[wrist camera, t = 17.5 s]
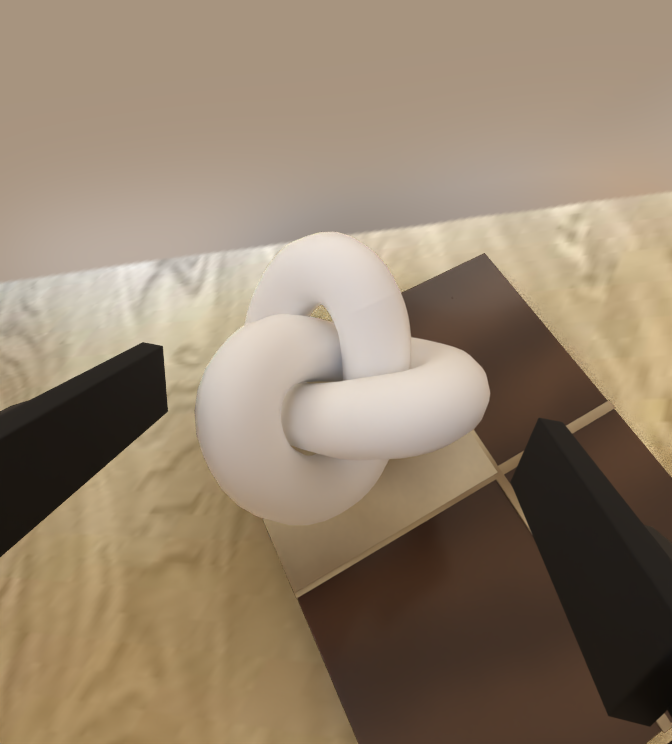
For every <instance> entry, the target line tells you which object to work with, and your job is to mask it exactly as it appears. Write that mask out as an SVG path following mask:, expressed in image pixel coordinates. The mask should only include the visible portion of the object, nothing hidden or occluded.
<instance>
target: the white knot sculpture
mask: <svg viewBox="0 0 672 744" xmlns="http://www.w3.org/2000/svg"><path fill="white" fill-rule="evenodd" d="M319 305H323V306H324V307H325V308H326V309H327V311H328V312H329V314H330V316H331V318H332V320H333V322H331V321H328V320H324V319H320V318H316V317H310V315H311V314H312V312H313V311H314V310H315V309H316V308H317V307H318V306H319ZM316 381H322V382H328V383H307V382H316ZM489 398H490V389H489V385H488V380H487V376H486V373H485V371H484V370H483V368H482V367H481V366H480V365H479V364H478V363H477V362H476V361H475V360H474V359H473V358H472V357H471V356H470V355H469V354H467V353H466V352H464V351H463V350H461V349H458V348H455V347H453V346H449V345H445V344H442V343H437V342H433V341H428V340H424V339H419V338H413V337H411V332H410V323H409V318H408V313H407V309H406V305H405V302H404V299H403V297H402V294H401V291H400V289H399V287H398V285H397V283H396V281H395V279H394V276H393V275H392V273H391V272H390V270H389V268H388V267H387V265H386V264H385V263H384V261H383V260H382V259H381V258H380V257H379V256H378V255H377V254H376V253H375V252H374V251H373V250H372V249H370V248H369V247H368V246H366V245H364V244H363V243H361V242H360V241H358V240H357V239H355V238H354V237H351V236H348V235H345V234H342V233H338V232H318V233H315V234H312V235H309V236H306V237H303V238H300V239H298V240H295V241H293V242H291V243H289V244H288V245H287V246H286V247H284V248H283V249H282V250H281V251H279V252H278V253H277V254H276V256H275V257H274V258H273V259H272V261H271V262H270V263H269V265H268V266H267V267H266V269H265V271H264V273H263V275H262V277H261V279H260V281H259V282H258V284H257V286H256V288H255V290H254V292H253V295H252V298H251V301H250V304H249V307H248V311H247V315H246V320H245V325H244V326H243V327H241V328H239V329H238V330H237V331H235V332H234V333H233V334H232V335H230V336H229V337H228V339H227V340H226V341H225V342H224V343H223V345H222V346H221V347H220V348H219V349H218V350H217V352H216V353H215V354H214V356H213V357H212V359H211V360H210V362H209V363H208V365H207V367H206V368H205V370H204V373H203V376H202V378H201V381H200V384H199V387H198V391H197V398H196V405H195V421H196V434H197V438H198V441H199V444H200V447H201V450H202V454H203V457H204V459H205V461H206V464H207V466H208V468H209V470H210V471H211V473H212V475H213V476H214V478H215V479H216V481H217V483H218V484H219V486H220V488H221V489H222V490H223V491H224V492H225V493H226V494H227V495H228V496H229V497H230V498H231V499H232V500H233V501H234V502H235V503H236V504H237V505H238V506H239V507H241V508H243V509H245V510H246V511H248V512H250V513H252V514H253V515H255V516H257V517H260V518H264V519H268V520H272V521H275V522H279V523H283V524H287V525H311V524H316V523H320V522H324V521H326V520H328V519H331V518H333V517H335V516H337V515H339V514H341V513H342V512H344V511H346V510H347V509H349V508H350V507H352V506H353V505H354V504H356V503H357V502H359V501H360V500H361V499H362V498H363V497H364V496H365V495H366V494H367V493H368V492H369V491H370V490H371V488H372V487H373V486H374V485H375V483H376V482H377V480H378V479H379V477H380V476H381V474H382V472H383V470H384V468H385V466H386V465H387V463H388V461H389V459H401V458H408V457H414V456H419V455H423V454H427V453H431V452H434V451H436V450H439V449H441V448H444V447H446V446H448V445H450V444H451V443H453V442H455V441H456V440H458V439H459V438H461V437H463V436H464V435H466V434H467V433H469V432H470V431H472V430H473V429H475V427H476V426H477V425H478V424H479V422H480V421H481V420H482V418H483V415H484V413H485V410H486V408H487V405H488V403H489ZM290 445H292V446H294V447H297V448H300V449H303V450H306V451H310V452H314V453H317V454H315V455H311V456H307V455H304V454H302V453H300V452H298V451H296V450H295V449H294V448H292V447H291V446H290Z"/></svg>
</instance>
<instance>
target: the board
mask: <svg viewBox="0 0 672 744" xmlns="http://www.w3.org/2000/svg"><path fill="white" fill-rule="evenodd" d="M401 294H402V297H403V299H404V302H405V305H406V309H407V313H408V318H409V323H410V332H411V337H413V338H419V339H424V340H428V341H433V342H437V343H442V344H445V345H449V346H453V347H455V348H458V349H461V350H463V351H464V352H466V353H467V354H469V355H470V356H471V357H472V358H473V359H474V360H475V361H476V362H477V363H478V364H479V365H480V366H481V367H482V368H483V370H484V371H485V373H486V376H487V380H488V385H489V389H490V398H489V403H488V405H487V408H486V410H485V413H484V415H483V418H482V420H481V421H480V422H479V424H478V425H477V426H476V427H475V429H473V430H472V431H470V432H469V433H467V434H466V435H464V436H463V437H461V438H459V439H458V440H456V441H455V442H453V443H451V444H450V445H448V446H446V447H444V448H441V449H439V450H436V451H434V452H431V453H427V454H423V455H419V456H414V457H408V458H401V459H389V461H388V463H387V465H386V466H385V468H384V470H383V472H382V474H381V476H380V477H379V479H378V480H377V482H376V483H375V485H374V486H373V487H372V488H371V490H370V491H369V492H368V493H367V494H366V495H365V496H364V497H363V498H362V499H361V500H360V501H359V502H357V503H356V504H354V505H353V506H352V507H350V508H349V509H347V510H346V511H344V512H342V513H341V514H339V515H337V516H335V517H333V518H331V519H328V520H326V521H324V522H320V523H316V524H311V525H287V524H283V523H279V522H275V521H272V520H268V519H264V518H262V519H263V521H264V524H265V526H266V528H267V531H268V533H269V535H270V538H271V540H272V543H273V545H274V547H275V550H276V552H277V554H278V557H279V559H280V562H281V564H282V566H283V569H284V571H285V573H286V576H287V578H288V581H289V583H290V585H291V588H292V590H293V592H294V594H295V596H296V598H297V599H298V602H299V604H300V606H301V609H302V611H303V614H304V616H305V618H306V621H307V623H308V625H309V628H310V630H311V632H312V635H313V637H314V640H315V642H316V644H317V647H318V649H319V651H320V654H321V656H322V658H323V661H324V663H325V666H326V668H327V670H328V673H329V675H330V677H331V680H332V682H333V685H334V687H335V689H336V692H337V694H338V696H339V699H340V701H341V703H342V706H343V708H344V711H345V713H346V715H347V718H348V720H349V722H350V725H351V727H352V729H353V732H354V734H355V737H356V739H357V741H358V744H646V743H647V742H648V741H650V740H651V739H652V738H653V737H655V736H656V735H657V734H658V733H660V732H661V731H662V732H664V733H665V732H667V731H668V730H669V729H670V728H672V724H671V723H672V718H671V716H670V714H669V712H668V710H667V711H666V712H665V713H664V714H663V715H662V716H661V717H660V718H659V719H658V720H657V721H656V722H655V723H654V724H652V725H651V726H650V727H649V726H645V725H641V724H637V723H633V722H629V721H626V720H622V719H618V718H614V717H610V716H608V714H607V712H606V710H605V707H604V705H603V702H602V700H601V698H600V695H599V693H598V690H597V688H596V686H595V683H594V681H593V678H592V676H591V674H590V671H589V669H588V667H587V664H586V662H585V659H584V657H583V655H582V652H581V650H580V647H579V645H578V643H577V640H576V638H575V635H574V633H573V631H572V628H571V626H570V624H569V621H568V619H567V616H566V614H565V612H564V609H563V607H562V604H561V602H560V600H559V597H558V595H557V592H556V590H555V588H554V585H553V583H552V580H551V578H550V576H549V573H548V571H547V569H546V566H545V564H544V561H543V559H542V557H541V554H540V552H539V549H538V547H537V545H536V542H535V540H534V537H533V535H532V533H531V530H530V528H529V526H528V523H527V521H526V518H525V516H524V514H523V511H522V509H521V506H520V504H519V502H518V499H517V497H516V494H515V492H514V490H513V487H512V485H511V483H510V482H511V479H512V477H513V475H514V472H515V470H516V468H517V466H518V463H519V461H520V459H521V457H522V454H523V452H524V450H525V448H526V445H527V443H528V441H529V438H530V436H531V434H532V432H533V429H534V427H535V425H536V423H537V420H538V418H544V419H549V420H555V421H560V422H563V423H564V424H565V425H566V427H567V428H568V429H569V430H570V432H571V433H572V434H573V436H574V437H575V438H576V439H577V441H578V442H579V443H580V444H581V446H582V447H583V448H584V449H585V451H586V452H587V453H588V455H589V456H590V457H591V458H592V460H593V461H594V462H595V463H596V465H597V466H598V467H599V469H600V470H601V471H602V472H603V474H604V475H605V476H606V477H607V479H608V480H609V481H610V482H611V484H612V485H613V486H614V488H615V489H616V490H617V491H618V493H619V494H620V495H621V496H622V498H623V499H624V500H625V502H626V503H627V504H628V505H629V507H630V508H631V509H632V510H633V512H634V513H635V514H636V515H637V517H638V518H639V519H640V521H641V522H642V523H643V524H644V525H647V526H652V527H654V528H655V529H656V530H657V531H658V532H660V533H661V534H662V535H663V536H664V537H666V538H667V539H668V540H669V541H670V542H672V478H671V476H670V475H669V474H668V473H667V472H666V470H665V469H664V468H663V467H662V466H661V464H660V463H659V462H658V461H657V460H656V458H655V457H654V456H653V455H652V454H651V452H650V451H649V450H648V449H647V448H646V446H645V445H644V444H643V443H642V442H641V440H640V439H639V438H638V437H637V436H636V434H635V433H634V432H633V431H632V430H631V428H630V427H629V426H628V425H627V424H626V422H625V421H624V420H623V419H622V417H621V416H620V415H619V414H618V413H617V411H616V410H615V409H614V408H616V407H615V406H614V405H613V404H612V403H611V401H610V400H609V401H607V399H606V398H605V397H604V396H603V395H602V393H601V392H600V391H599V390H598V389H597V387H596V386H595V385H594V384H593V383H592V381H591V380H590V379H589V378H588V377H587V375H586V374H585V373H584V372H583V371H582V369H581V368H580V367H579V366H578V365H577V363H576V362H575V361H574V360H573V359H572V357H571V356H570V355H569V354H568V353H567V351H566V350H565V349H564V348H563V347H562V345H561V344H560V343H559V342H558V341H557V339H556V338H555V337H554V336H553V335H552V333H551V332H550V331H549V330H548V329H547V327H546V326H545V325H544V324H543V323H542V321H541V320H540V319H539V318H538V317H537V315H536V314H535V313H534V312H533V310H532V309H531V308H530V307H529V306H528V304H527V303H526V302H525V301H524V300H523V298H522V297H521V296H520V295H519V294H518V292H517V291H516V290H515V289H514V288H513V286H512V285H511V284H510V283H509V282H508V280H507V279H506V278H505V277H504V276H503V274H502V273H501V272H500V271H499V270H498V268H497V267H496V266H495V265H494V264H493V262H492V261H491V260H490V259H489V258H488V256H487V255H486V254H485V253H484V254H482V255H480V256H477V257H475V258H473V259H471V260H469V261H467V262H465V263H463V264H461V265H459V266H457V267H455V268H452V269H450V270H448V271H446V272H444V273H442V274H440V275H438V276H436V277H434V278H432V279H429V280H427V281H425V282H423V283H421V284H419V285H417V286H415V287H413V288H411V289H409V290H407V291H404V292H402V293H401ZM307 383H328V382H322V381H316V382H307ZM290 446H291V447H292V448H294V449H295V450H296V451H298V452H300V453H302V454H304V455H307V456H311V455H315V454H317V453H314V452H310V451H306V450H303V449H300V448H297V447H294V446H292V445H290Z"/></svg>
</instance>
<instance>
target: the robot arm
mask: <svg viewBox="0 0 672 744" xmlns="http://www.w3.org/2000/svg"><path fill="white" fill-rule="evenodd" d="M167 412H168V407H167V394H166V381H165V368H164V356H163V346H160V345H154V344H149V343H144V342H142V343H141V344H139V345H137V346H135V347H133V348H131V349H129V350H127V351H125V352H123V353H121V354H119V355H117V356H115V357H113V358H111V359H109V360H107V361H105V362H103V363H102V364H100V365H98V366H96V367H94V368H92V369H90V370H88V371H86V372H84V373H82V374H80V375H78V376H76V377H74V378H72V379H70V380H68V381H66V382H64V383H62V384H61V385H59V386H57V387H55V388H53V389H51V390H49V391H47V392H45V393H43V394H41V395H39V396H37V397H35V398H33V399H31V400H29V401H26V402H22V403H19V404H16V405H13V406H10V407H8V408H6V409H4V410H2V411H0V557H1V556H2V555H3V554H5V553H6V552H7V551H8V550H9V549H10V548H11V547H13V546H14V545H15V544H16V543H17V542H18V541H19V540H21V539H22V538H23V537H24V536H25V535H26V534H28V533H29V532H30V531H31V530H32V529H33V528H34V527H36V526H37V525H38V524H39V523H40V522H41V521H42V520H44V519H45V518H46V517H47V516H48V515H49V514H51V513H52V512H53V511H54V510H55V509H56V508H57V507H59V506H60V505H61V504H62V503H63V502H64V501H65V500H67V499H68V498H69V497H70V496H71V495H72V494H74V493H75V492H76V491H77V490H78V489H79V488H80V487H82V486H83V485H84V484H85V483H86V482H87V481H88V480H90V479H91V478H92V477H93V476H94V475H95V474H97V473H98V472H99V471H100V470H101V469H102V468H103V467H105V466H106V465H107V464H108V463H109V462H110V461H111V460H113V459H114V458H115V457H116V456H117V455H118V454H120V453H121V452H122V451H123V450H124V449H125V448H126V447H128V446H129V445H130V444H131V443H132V442H133V441H134V440H136V439H137V438H138V437H139V436H140V435H141V434H143V433H144V432H145V431H146V430H147V429H148V428H149V427H151V426H152V425H153V424H154V423H155V422H156V421H157V420H159V419H160V418H161V417H162V416H163V415H164V414H166V413H167ZM510 483H511V485H512V487H513V490H514V492H515V494H516V497H517V499H518V502H519V504H520V506H521V509H522V511H523V514H524V516H525V518H526V521H527V523H528V526H529V528H530V530H531V533H532V535H533V537H534V540H535V542H536V545H537V547H538V549H539V552H540V554H541V557H542V559H543V561H544V564H545V566H546V569H547V571H548V573H549V576H550V578H551V580H552V583H553V585H554V588H555V590H556V592H557V595H558V597H559V600H560V602H561V604H562V607H563V609H564V612H565V614H566V616H567V619H568V621H569V624H570V626H571V628H572V631H573V633H574V635H575V638H576V640H577V643H578V645H579V647H580V650H581V652H582V655H583V657H584V659H585V662H586V664H587V667H588V669H589V671H590V674H591V676H592V678H593V681H594V683H595V686H596V688H597V690H598V693H599V695H600V698H601V700H602V702H603V705H604V707H605V710H606V712H607V714H608V716H610V717H614V718H618V719H622V720H626V721H629V722H633V723H637V724H641V725H645V726H649V727H650V726H651V725H652V724H654V723H655V722H656V721H657V720H658V719H659V718H660V717H661V716H662V715H663V714H664V713H665V712H666V711H667V710H668V712H669V714H670V716H671V718H672V542H670V541H669V540H668V539H667V538H666V537H664V536H663V535H662V534H661V533H660V532H658V531H657V530H656V529H655V528H654V527H652V526H647V525H644V524H643V523H642V522H641V521H640V519H639V518H638V517H637V515H636V514H635V513H634V512H633V510H632V509H631V508H630V507H629V505H628V504H627V503H626V502H625V500H624V499H623V498H622V496H621V495H620V494H619V493H618V491H617V490H616V489H615V488H614V486H613V485H612V484H611V482H610V481H609V480H608V479H607V477H606V476H605V475H604V474H603V472H602V471H601V470H600V469H599V467H598V466H597V465H596V463H595V462H594V461H593V460H592V458H591V457H590V456H589V455H588V453H587V452H586V451H585V449H584V448H583V447H582V446H581V444H580V443H579V442H578V441H577V439H576V438H575V437H574V436H573V434H572V433H571V432H570V430H569V429H568V428H567V427H566V425H565V424H564V423H563V422H560V421H555V420H549V419H544V418H538V420H537V423H536V425H535V427H534V429H533V432H532V434H531V436H530V438H529V441H528V443H527V445H526V448H525V450H524V452H523V454H522V457H521V459H520V461H519V463H518V466H517V468H516V470H515V472H514V475H513V477H512V479H511V482H510ZM668 744H672V741H671V742H669V743H668Z"/></svg>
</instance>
